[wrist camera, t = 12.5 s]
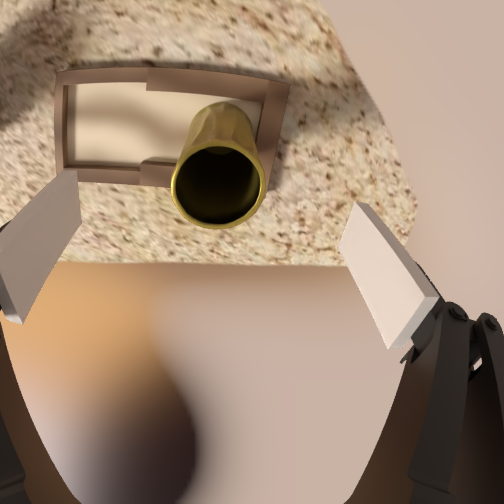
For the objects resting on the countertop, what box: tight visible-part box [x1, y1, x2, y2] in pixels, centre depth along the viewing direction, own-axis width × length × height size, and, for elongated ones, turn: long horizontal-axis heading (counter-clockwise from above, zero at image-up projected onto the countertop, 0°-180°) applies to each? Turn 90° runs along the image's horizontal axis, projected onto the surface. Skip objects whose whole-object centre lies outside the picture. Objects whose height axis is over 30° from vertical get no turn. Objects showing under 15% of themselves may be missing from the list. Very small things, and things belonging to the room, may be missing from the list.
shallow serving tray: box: [54, 67, 291, 199], centre depth 26 cm, size 12×23×2 cm, turn 80°
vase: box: [171, 103, 266, 229], centre depth 21 cm, size 6×6×14 cm
